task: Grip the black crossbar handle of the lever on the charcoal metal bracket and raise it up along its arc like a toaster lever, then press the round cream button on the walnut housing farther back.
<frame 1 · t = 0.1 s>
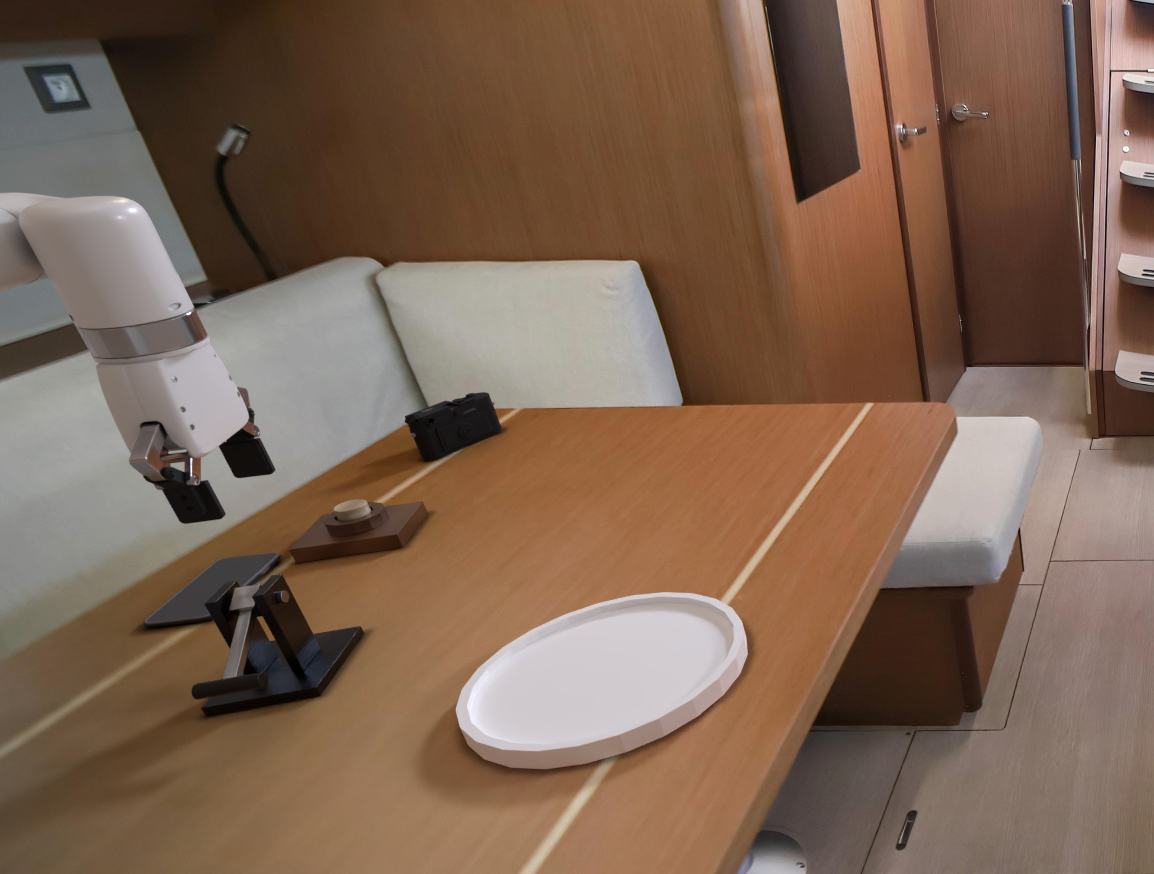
hand: (231, 496, 95), 26 cm above the table, tool pointing down, fingers open, 9 cm apart
plate: (614, 680, 110), on the table
bracket: (290, 672, 110), on the table
camera: (456, 444, 164), on the table
lever: (241, 640, 103), point 8 cm above the table, hinge at -30.0°
button box: (365, 537, 136), on the table
smartphone: (218, 592, 124), on the table
button: (352, 510, 134), point 4 cm above the table, slide at 0.1 cm
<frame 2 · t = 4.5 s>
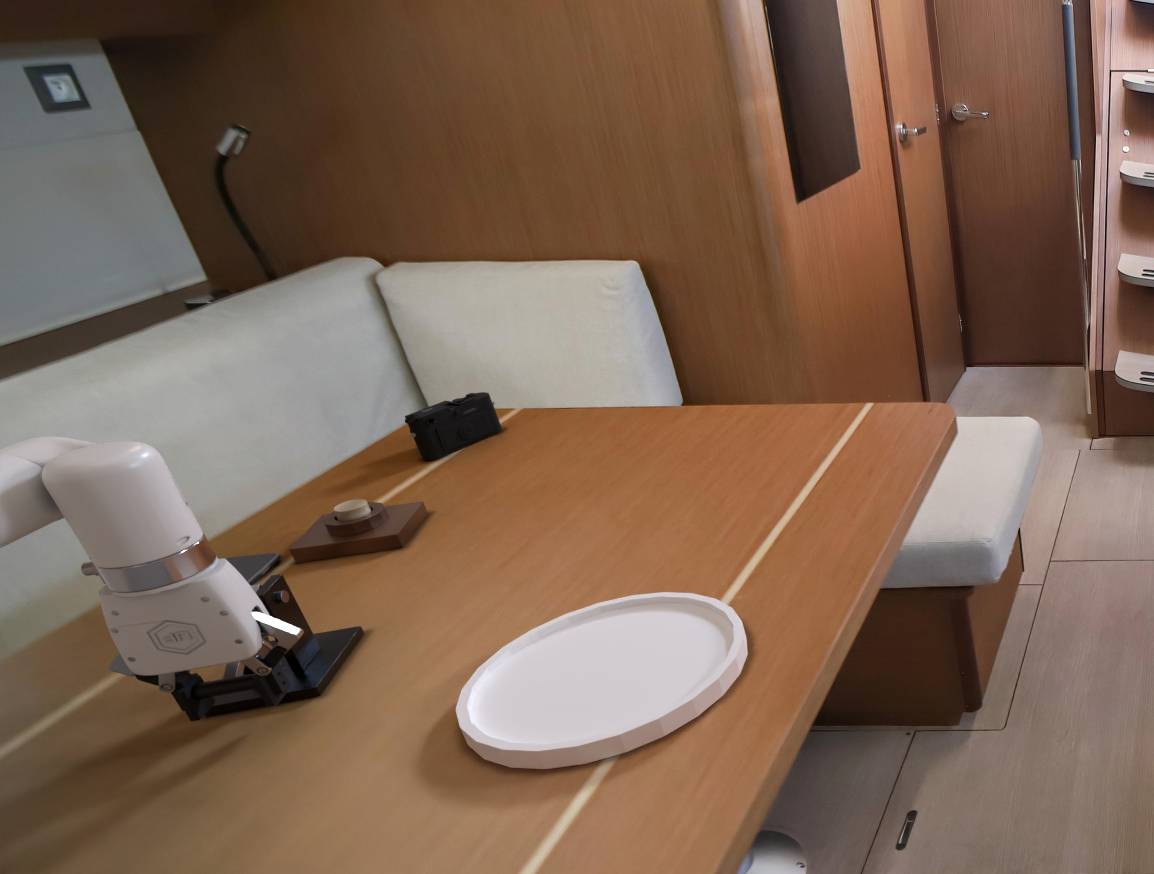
hand: (241, 703, 102), 2 cm above the table, tool pointing down, fingers closed on lever, 5 cm apart
lever: (241, 640, 103), point 8 cm above the table, hinge at -30.0°, touching gripper
everything else where it was.
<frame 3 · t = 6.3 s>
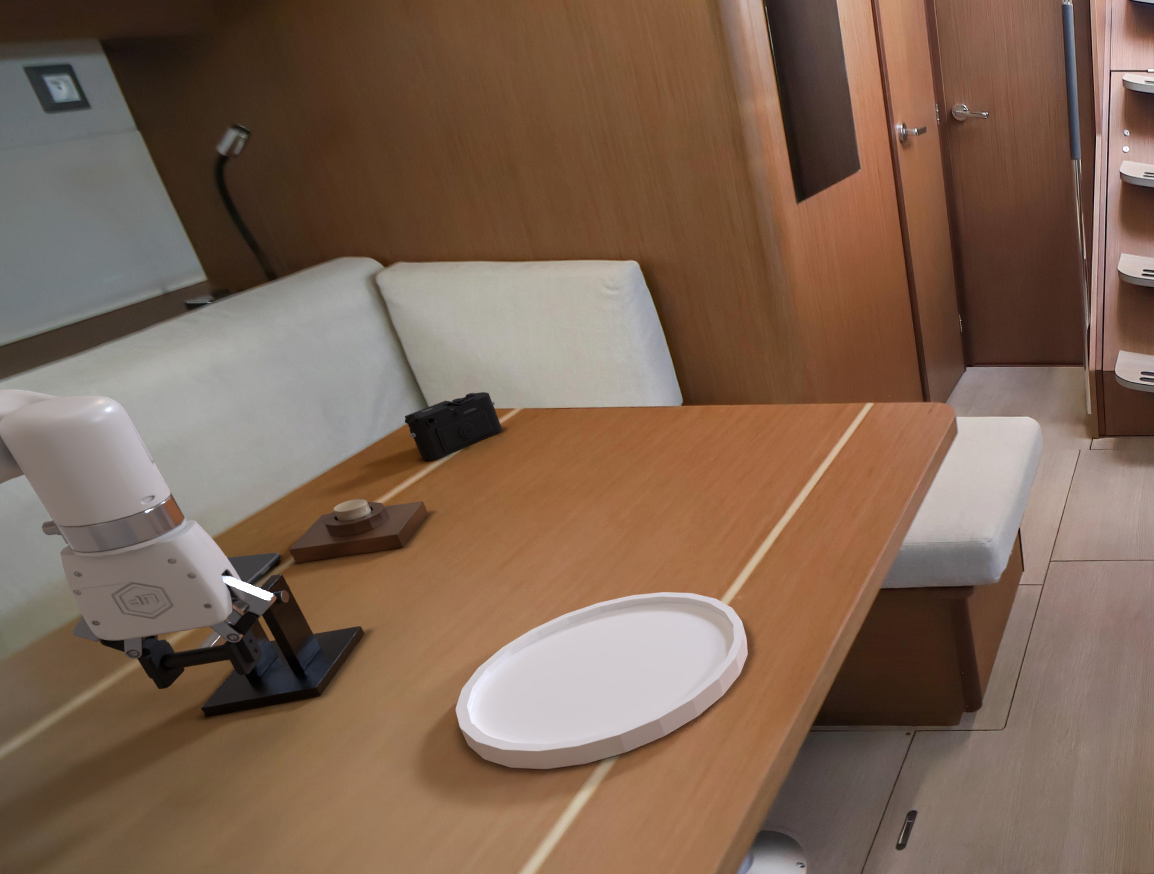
hand: (211, 672, 98), 8 cm above the table, tool pointing down, fingers closed on lever, 5 cm apart
lever: (228, 626, 102), point 10 cm above the table, hinge at -0.4°, touching gripper
everything else where it was.
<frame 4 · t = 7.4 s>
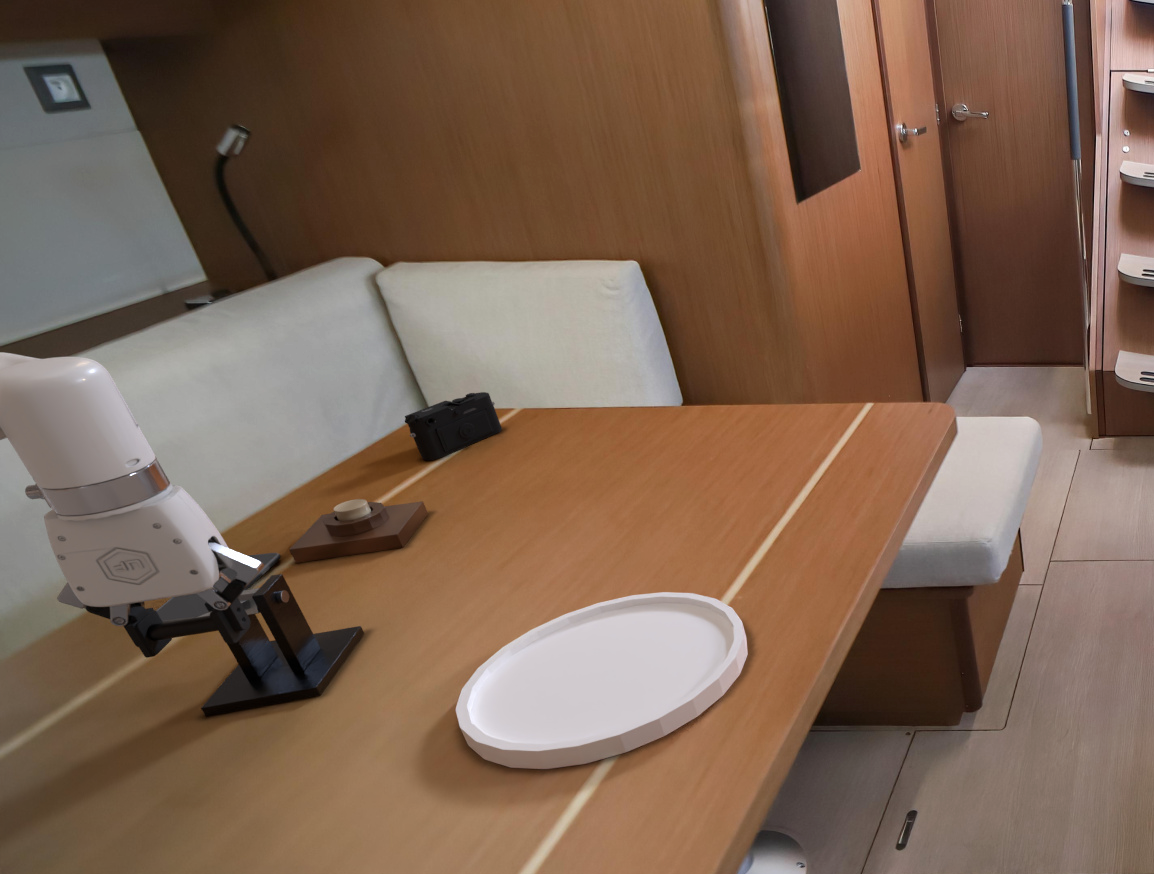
hand: (199, 640, 97), 11 cm above the table, tool pointing down, fingers closed on lever, 5 cm apart
lever: (223, 613, 101), point 12 cm above the table, hinge at 18.9°, touching gripper
everything else where it was.
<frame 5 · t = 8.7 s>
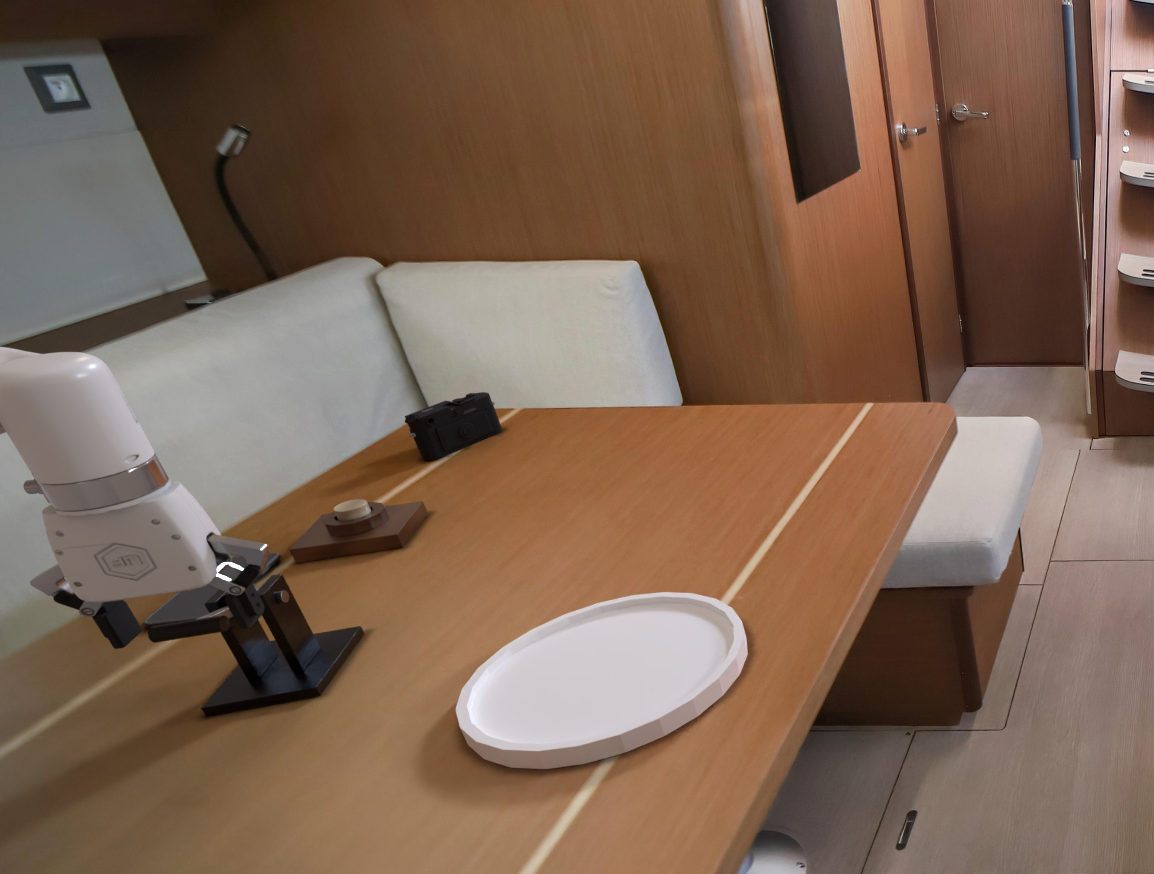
hand: (192, 630, 97), 13 cm above the table, tool pointing down, fingers open, 9 cm apart
lever: (223, 613, 101), point 11 cm above the table, hinge at 17.8°
everything else where it was.
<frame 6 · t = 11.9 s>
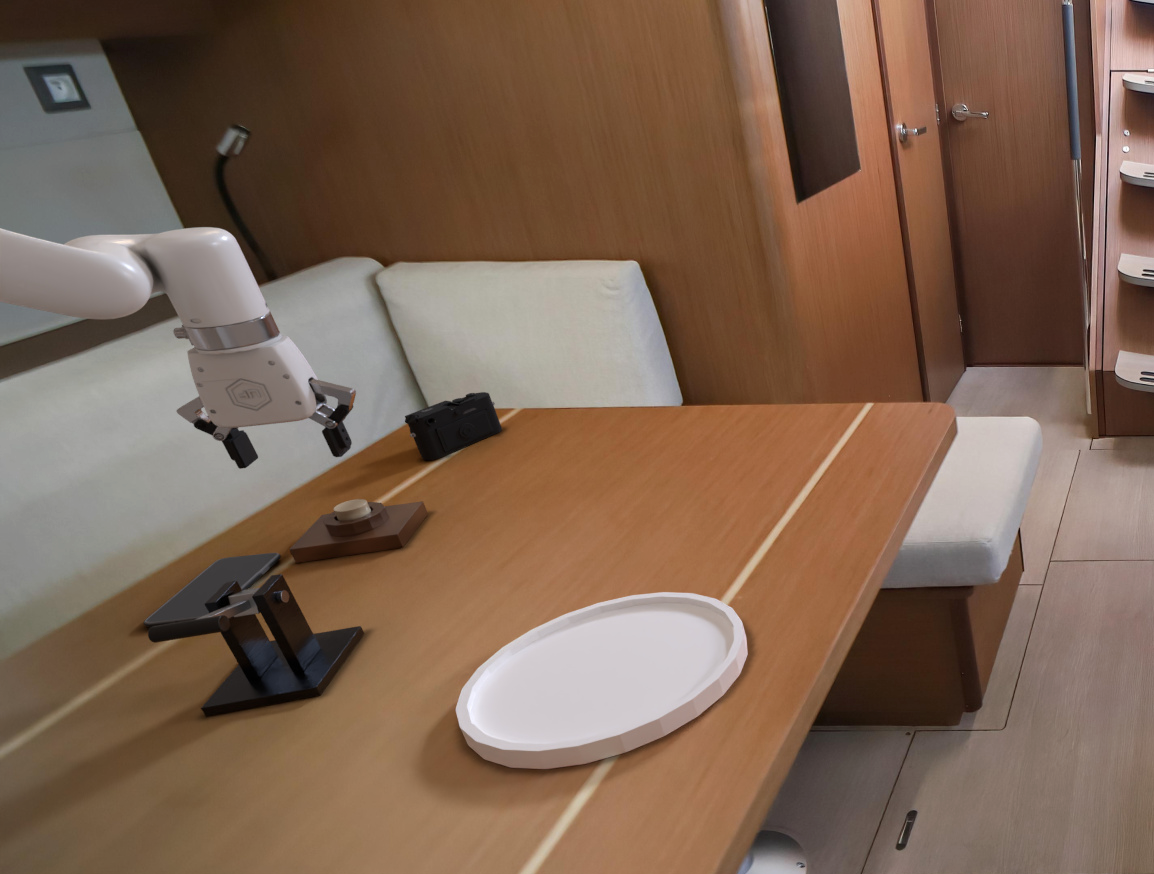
hand: (296, 458, 123), 16 cm above the table, tool pointing down, fingers open, 9 cm apart
nothing on the table moved.
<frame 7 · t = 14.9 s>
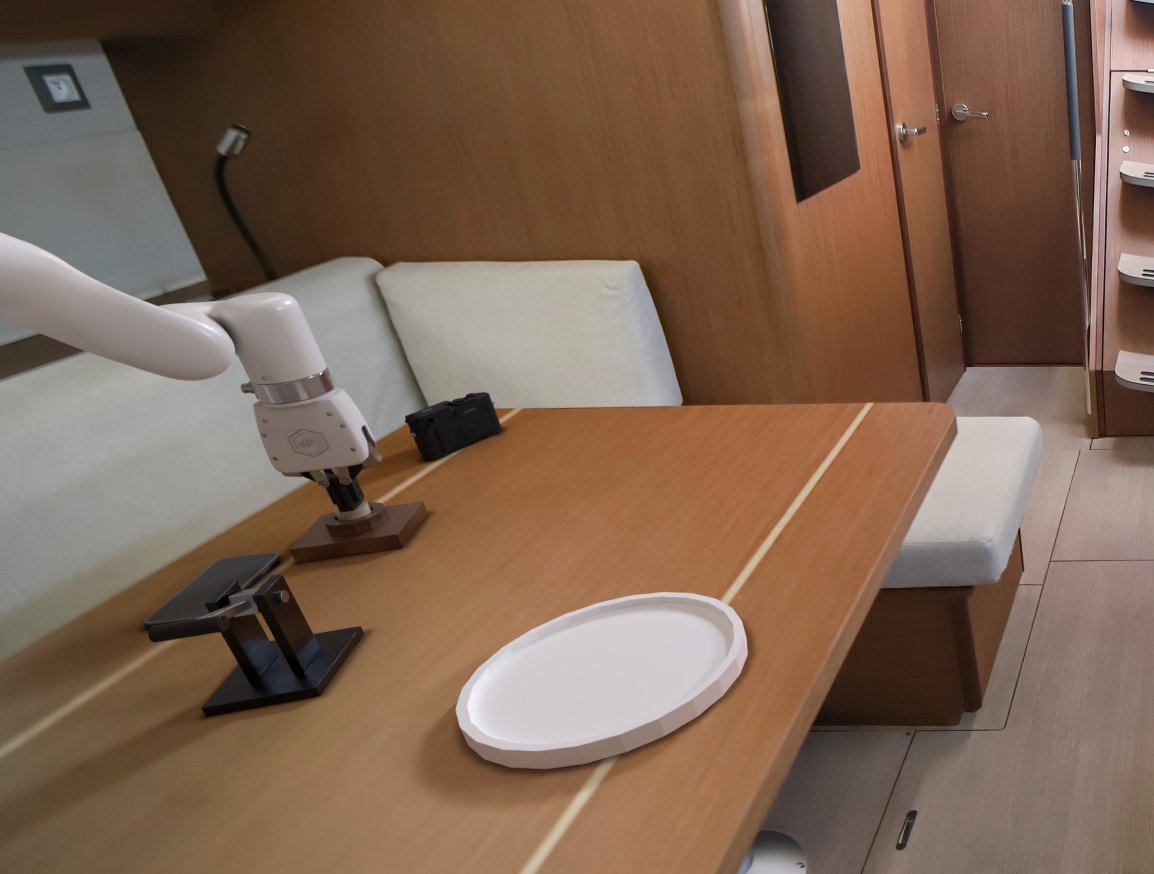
hand: (352, 506, 134), 5 cm above the table, tool pointing down, fingers closed
button: (353, 512, 134), point 4 cm above the table, slide at -0.2 cm, touching gripper
everything else where it was.
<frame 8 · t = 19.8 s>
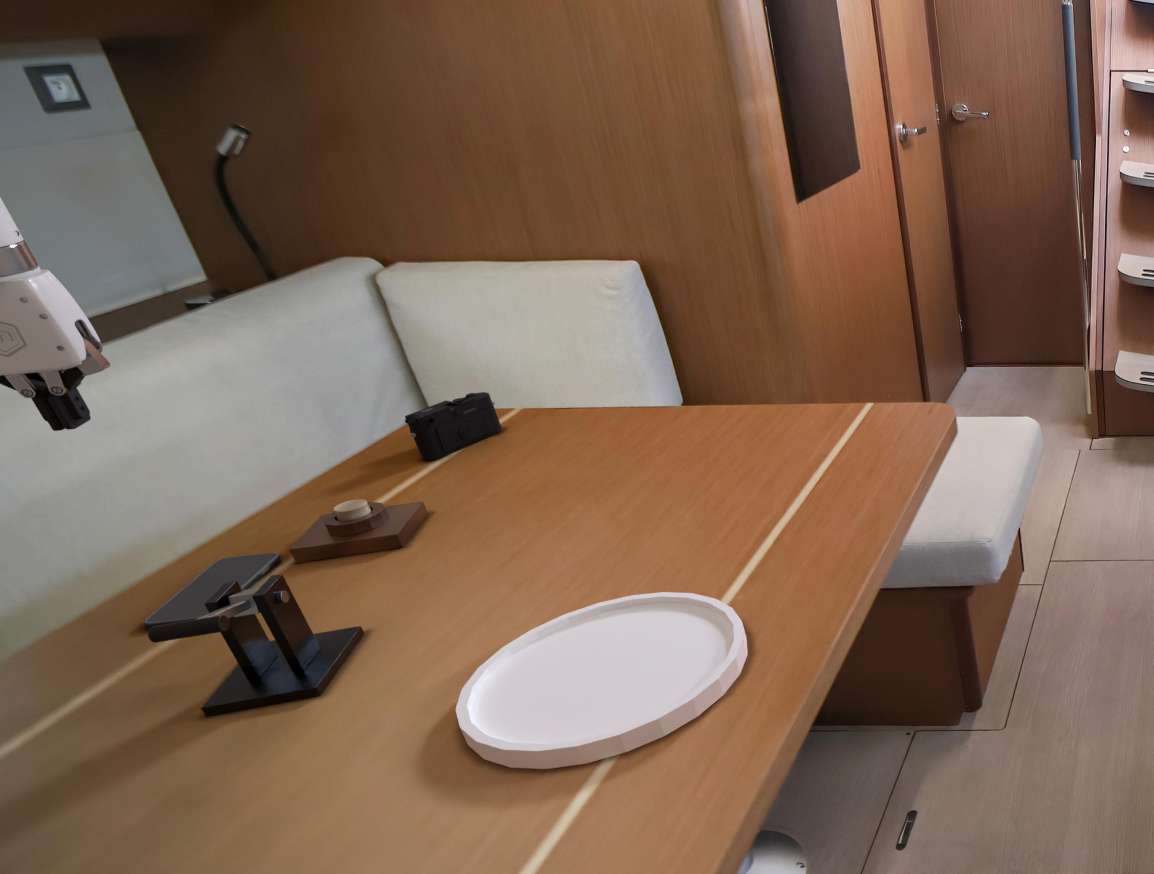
hand: (72, 424, 106), 27 cm above the table, tool pointing down, fingers closed
button: (352, 510, 134), point 4 cm above the table, slide at 0.1 cm
everything else where it was.
at the end: lever at +18° (first picture: -30°); button pushed in 1.1 cm at the most during the clip, back to where it started at the end; button slide at 0.1 cm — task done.
